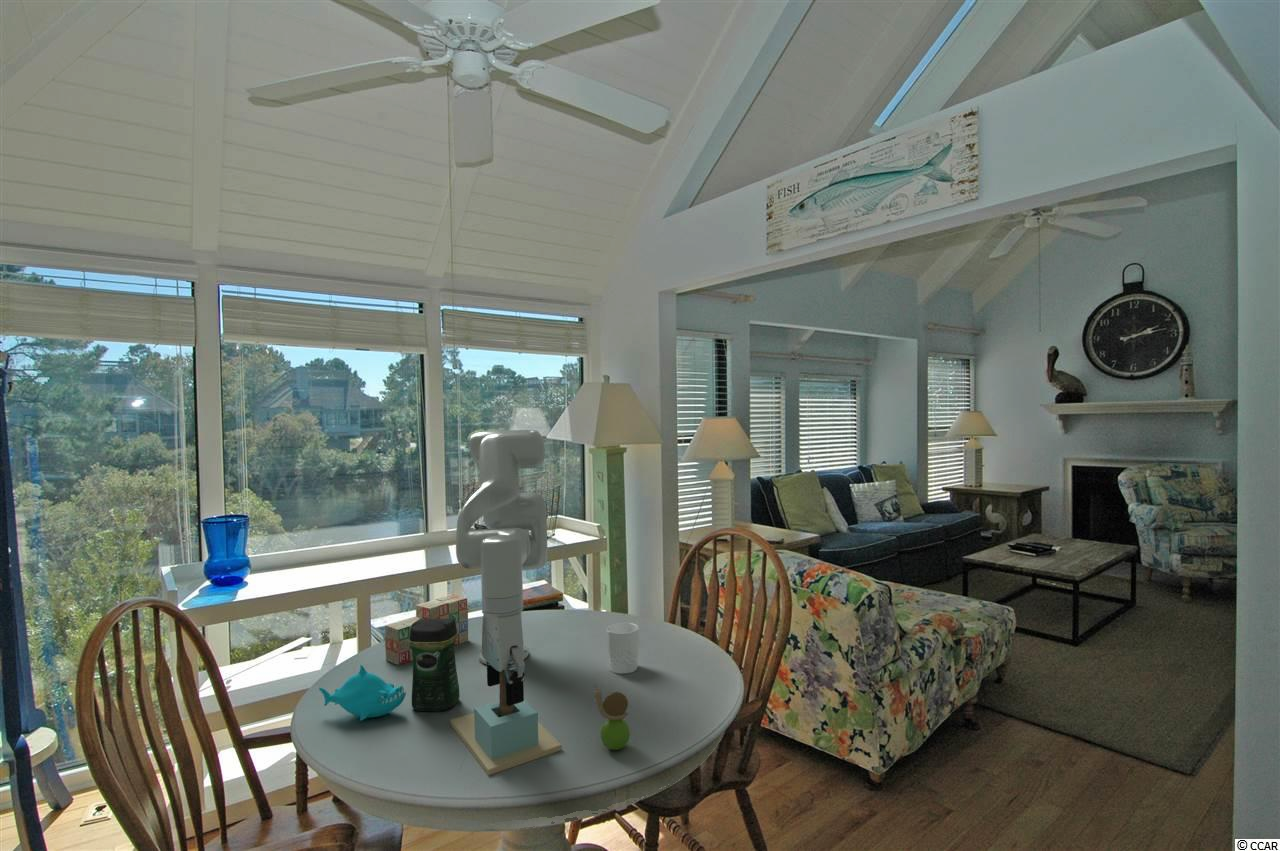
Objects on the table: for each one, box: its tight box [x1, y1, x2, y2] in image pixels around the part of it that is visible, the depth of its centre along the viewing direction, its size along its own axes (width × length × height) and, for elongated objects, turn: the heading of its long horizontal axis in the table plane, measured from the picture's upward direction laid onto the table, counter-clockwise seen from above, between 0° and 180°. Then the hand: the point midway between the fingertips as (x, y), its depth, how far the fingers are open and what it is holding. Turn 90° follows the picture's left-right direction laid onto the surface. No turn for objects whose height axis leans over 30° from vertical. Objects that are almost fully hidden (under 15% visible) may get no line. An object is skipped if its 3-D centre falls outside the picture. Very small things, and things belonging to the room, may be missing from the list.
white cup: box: [606, 622, 640, 675], centre depth 152 cm, size 8×8×10 cm
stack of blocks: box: [384, 594, 469, 666], centre depth 167 cm, size 21×6×12 cm, turn 142°
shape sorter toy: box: [450, 699, 563, 776], centre depth 120 cm, size 22×14×7 cm, turn 33°
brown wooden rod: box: [499, 664, 515, 717], centre depth 116 cm, size 3×3×14 cm
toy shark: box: [318, 664, 407, 722], centre depth 130 cm, size 10×18×11 cm, turn 90°
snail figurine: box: [593, 683, 631, 751], centre depth 115 cm, size 5×6×12 cm
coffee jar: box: [409, 618, 461, 712], centre depth 135 cm, size 10×8×19 cm
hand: (505, 693), depth 116 cm, fingers open, 9 cm apart
